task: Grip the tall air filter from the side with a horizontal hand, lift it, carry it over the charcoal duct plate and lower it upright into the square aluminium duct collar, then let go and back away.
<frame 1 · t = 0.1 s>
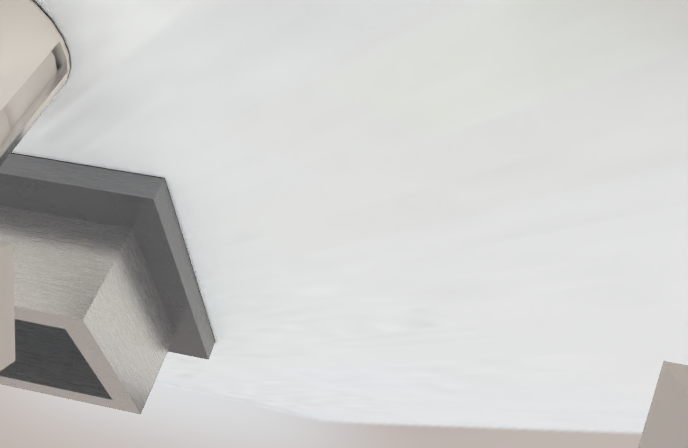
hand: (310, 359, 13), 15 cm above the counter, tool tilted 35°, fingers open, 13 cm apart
duct plate: (79, 253, 42), on the counter
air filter: (3, 32, 28), on the counter
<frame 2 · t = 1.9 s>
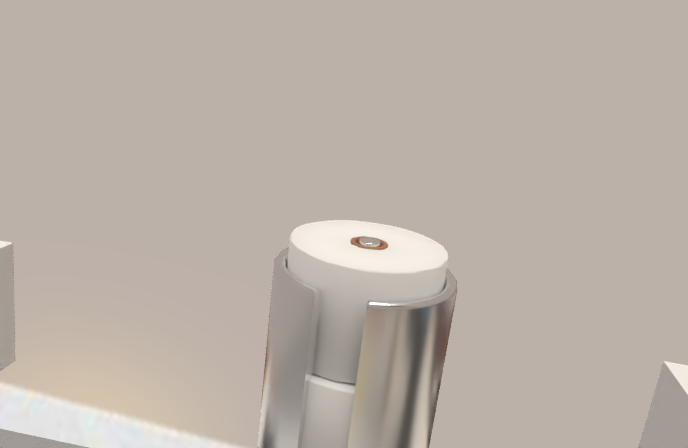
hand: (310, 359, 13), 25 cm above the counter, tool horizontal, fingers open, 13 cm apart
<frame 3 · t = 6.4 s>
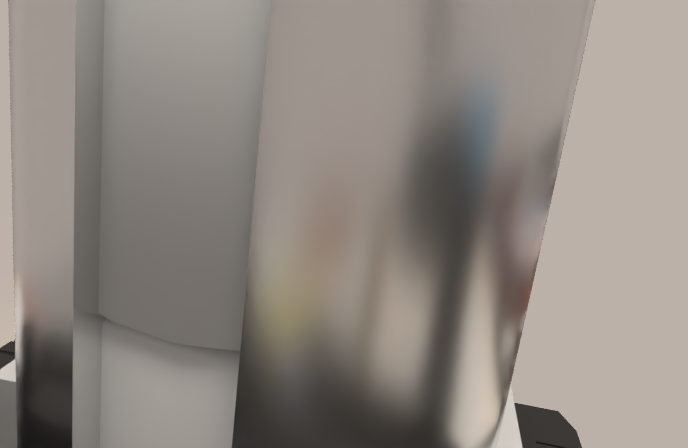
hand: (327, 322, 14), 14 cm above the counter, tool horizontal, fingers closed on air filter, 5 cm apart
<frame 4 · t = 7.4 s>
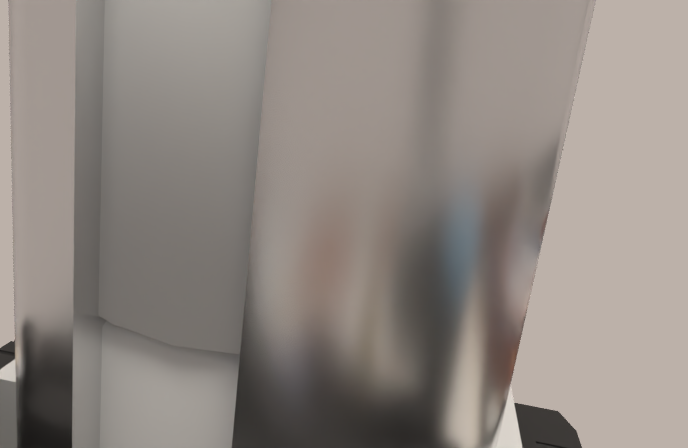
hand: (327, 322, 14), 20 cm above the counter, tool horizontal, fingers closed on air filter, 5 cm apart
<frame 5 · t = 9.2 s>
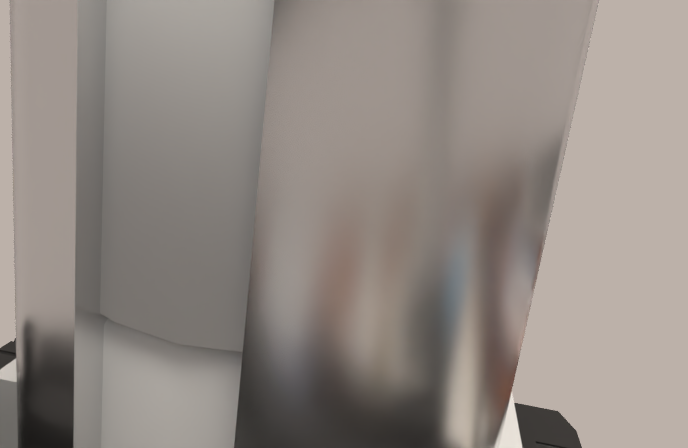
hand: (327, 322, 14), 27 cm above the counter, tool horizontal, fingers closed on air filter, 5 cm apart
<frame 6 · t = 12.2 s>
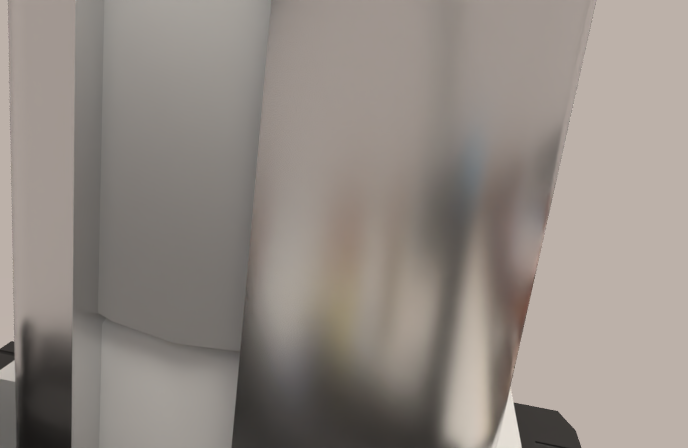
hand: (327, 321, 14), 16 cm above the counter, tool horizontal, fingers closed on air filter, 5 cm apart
when the fingers open (16 cm above the counter, at t = 12.2 s): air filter stays where it is, resting on duct plate.
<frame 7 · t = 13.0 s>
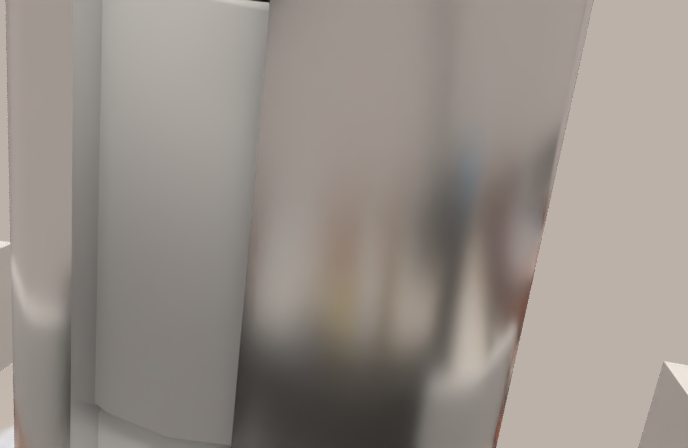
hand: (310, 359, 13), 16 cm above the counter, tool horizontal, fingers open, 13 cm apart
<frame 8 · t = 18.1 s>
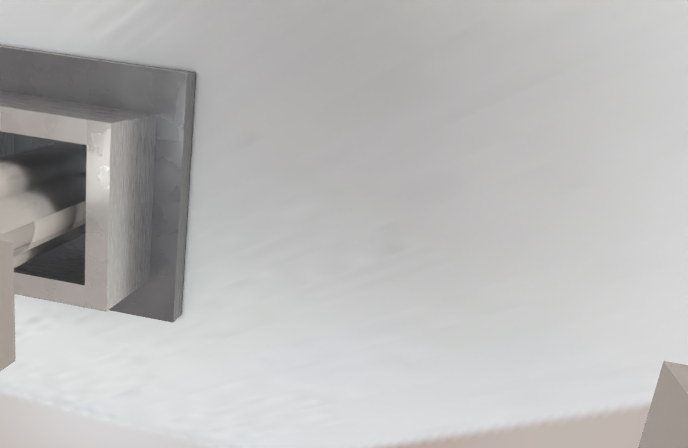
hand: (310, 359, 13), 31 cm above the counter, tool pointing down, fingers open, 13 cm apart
duct plate: (85, 182, 46), on the counter
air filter: (75, 186, 45), point 1 cm above the counter, touching duct plate
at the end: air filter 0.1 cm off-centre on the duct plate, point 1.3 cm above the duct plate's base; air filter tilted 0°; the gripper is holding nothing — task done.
